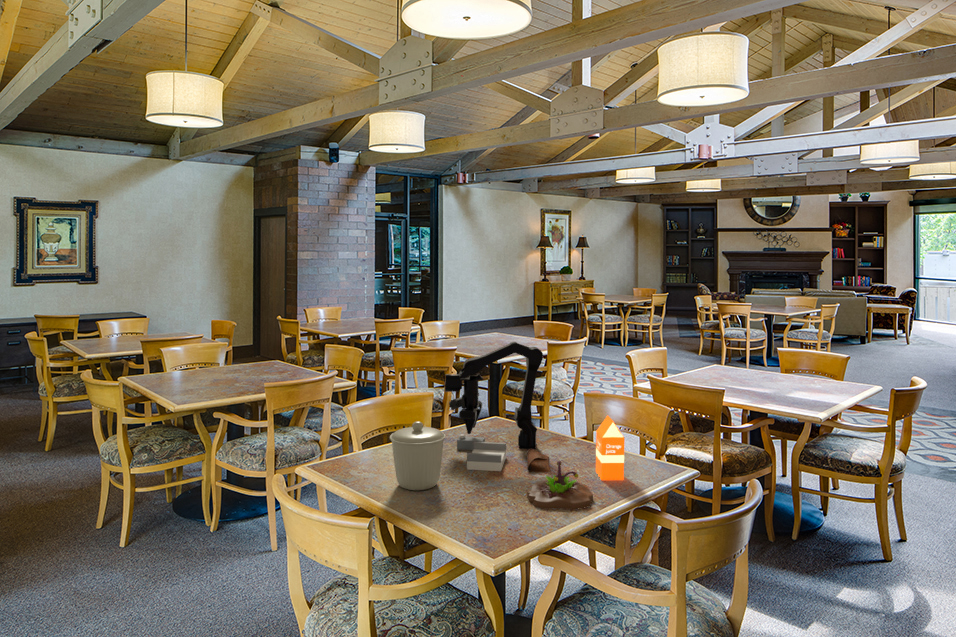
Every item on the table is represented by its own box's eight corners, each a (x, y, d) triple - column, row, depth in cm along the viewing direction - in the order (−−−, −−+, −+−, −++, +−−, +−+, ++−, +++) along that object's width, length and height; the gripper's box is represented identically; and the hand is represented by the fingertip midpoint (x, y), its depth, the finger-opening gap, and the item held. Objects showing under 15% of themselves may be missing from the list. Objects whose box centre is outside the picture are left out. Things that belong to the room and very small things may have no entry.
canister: (383, 493, 198) (382, 427, 196) (398, 474, 215) (397, 414, 214) (439, 496, 195) (439, 429, 193) (450, 477, 213) (450, 416, 211)
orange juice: (617, 471, 219) (618, 415, 217) (624, 480, 210) (625, 421, 208) (595, 471, 219) (596, 415, 217) (600, 480, 210) (601, 421, 208)
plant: (590, 488, 203) (590, 454, 203) (595, 511, 184) (595, 474, 183) (528, 485, 206) (528, 452, 205) (526, 508, 186) (526, 472, 185)
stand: (506, 457, 235) (506, 442, 234) (500, 471, 219) (501, 455, 219) (474, 455, 237) (474, 441, 236) (466, 469, 221) (466, 454, 220)
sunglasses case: (552, 472, 218) (542, 455, 217) (534, 482, 218) (525, 465, 218) (549, 456, 236) (540, 441, 235) (533, 465, 236) (524, 450, 236)
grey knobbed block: (484, 447, 249) (484, 434, 248) (482, 451, 243) (482, 438, 243) (460, 445, 251) (460, 433, 250) (456, 449, 245) (456, 436, 245)
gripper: (455, 386, 255) (455, 424, 257) (445, 395, 237) (446, 436, 238) (482, 387, 254) (482, 425, 255) (475, 396, 235) (475, 437, 237)
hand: (471, 430), depth 246 cm, fingers open, 9 cm apart
